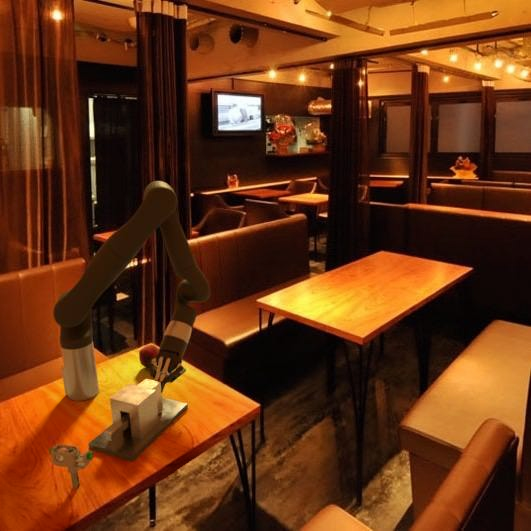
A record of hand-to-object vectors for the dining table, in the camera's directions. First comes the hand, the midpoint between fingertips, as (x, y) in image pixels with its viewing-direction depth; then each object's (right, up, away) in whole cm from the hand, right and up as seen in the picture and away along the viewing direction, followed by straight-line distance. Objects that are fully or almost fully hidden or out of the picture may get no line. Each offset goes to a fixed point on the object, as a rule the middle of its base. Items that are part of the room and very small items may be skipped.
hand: (155, 394), depth 144 cm
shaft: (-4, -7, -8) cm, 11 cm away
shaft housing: (-3, -8, -5) cm, 10 cm away
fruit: (-8, +2, +28) cm, 29 cm away
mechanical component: (-13, -15, -27) cm, 33 cm away
